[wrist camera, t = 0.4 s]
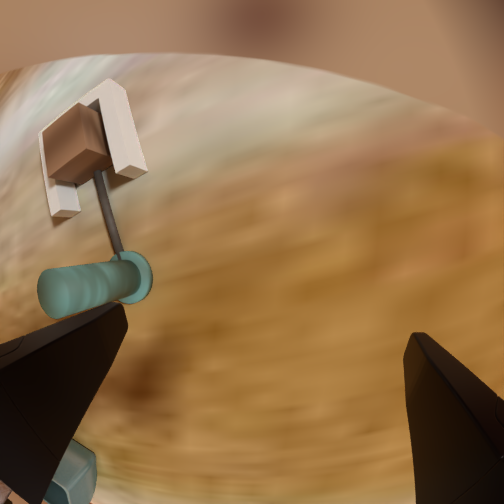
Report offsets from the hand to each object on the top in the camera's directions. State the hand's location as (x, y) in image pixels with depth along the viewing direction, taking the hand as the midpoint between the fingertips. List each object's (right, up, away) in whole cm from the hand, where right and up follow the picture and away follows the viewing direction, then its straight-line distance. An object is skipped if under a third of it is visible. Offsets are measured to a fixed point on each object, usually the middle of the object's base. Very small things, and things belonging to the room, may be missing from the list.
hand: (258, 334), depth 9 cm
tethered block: (-13, +6, +18) cm, 23 cm away
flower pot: (-23, -25, +21) cm, 40 cm away
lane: (-16, +12, +18) cm, 27 cm away
